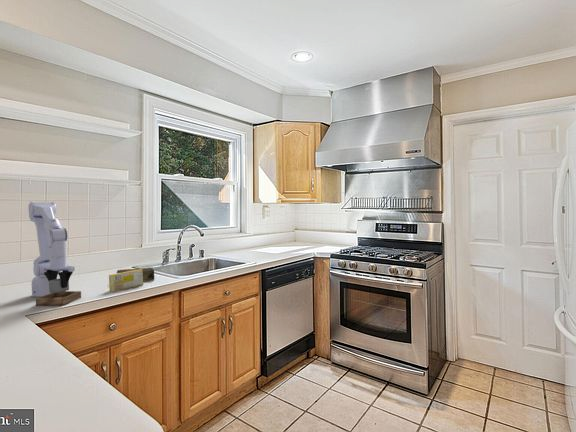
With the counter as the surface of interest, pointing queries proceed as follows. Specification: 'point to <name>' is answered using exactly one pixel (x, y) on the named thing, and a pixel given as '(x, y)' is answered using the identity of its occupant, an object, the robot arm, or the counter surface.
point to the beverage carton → (147, 273)
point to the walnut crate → (58, 298)
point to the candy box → (125, 280)
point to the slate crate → (57, 286)
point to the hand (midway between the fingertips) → (59, 287)
